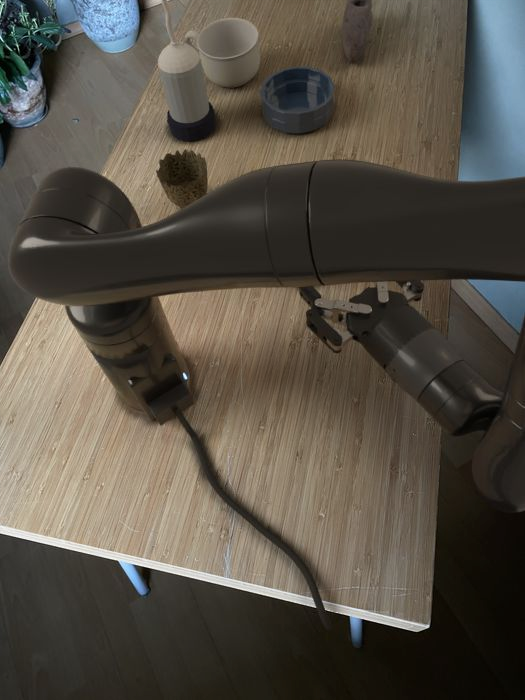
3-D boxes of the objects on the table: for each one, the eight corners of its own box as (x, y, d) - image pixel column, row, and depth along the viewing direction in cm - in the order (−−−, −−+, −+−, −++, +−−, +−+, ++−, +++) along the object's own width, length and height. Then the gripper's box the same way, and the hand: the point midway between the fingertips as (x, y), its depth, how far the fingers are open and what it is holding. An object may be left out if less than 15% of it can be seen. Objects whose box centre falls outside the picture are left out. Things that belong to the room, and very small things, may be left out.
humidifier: (166, 116, 104) (126, -34, 83) (211, 106, 105) (183, -47, 83) (173, 146, 100) (134, -4, 79) (220, 135, 100) (194, -18, 79)
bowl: (348, 114, 100) (349, 91, 97) (290, 146, 98) (289, 123, 94) (305, 80, 106) (305, 57, 102) (249, 109, 103) (246, 86, 99)
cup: (208, 225, 90) (198, 186, 83) (162, 221, 92) (149, 182, 85) (219, 190, 94) (211, 150, 87) (175, 186, 95) (164, 146, 88)
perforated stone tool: (364, 72, 106) (367, 35, 100) (335, 71, 107) (336, 34, 101) (373, 23, 113) (376, -15, 107) (346, 22, 114) (347, -15, 108)
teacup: (273, 68, 108) (270, 26, 102) (241, 103, 104) (235, 61, 97) (212, 49, 113) (205, 7, 106) (178, 81, 109) (169, 40, 102)
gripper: (467, 304, 67) (373, 220, 74) (368, 371, 63) (281, 276, 71) (454, 339, 73) (369, 258, 80) (363, 401, 70) (284, 311, 77)
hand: (328, 266), depth 76 cm, fingers open, 8 cm apart
